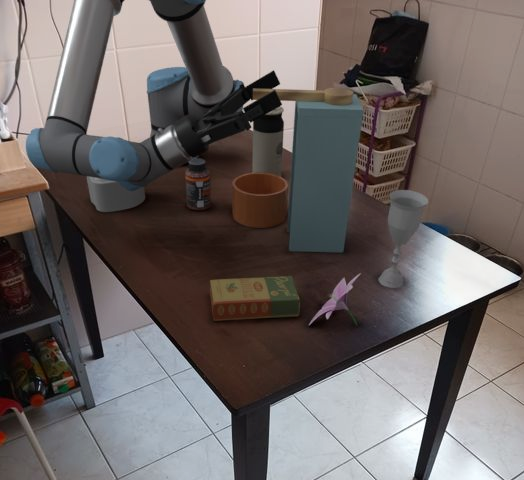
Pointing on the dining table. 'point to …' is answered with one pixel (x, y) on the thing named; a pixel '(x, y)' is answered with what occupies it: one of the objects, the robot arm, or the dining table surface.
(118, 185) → the lumpy-topped squat cylinder
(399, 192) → the chalice
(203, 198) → the supplement bottle
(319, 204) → the teal bin
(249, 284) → the carton
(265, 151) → the travel mug
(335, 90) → the tan disc-ended rod
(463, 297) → the dining table surface
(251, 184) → the pot
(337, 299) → the lily
